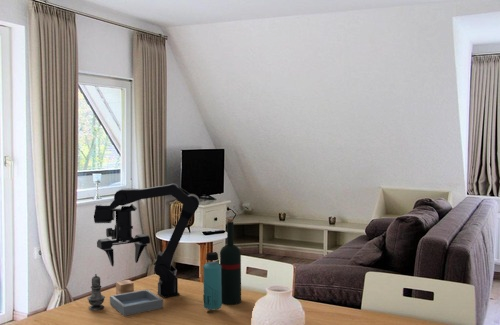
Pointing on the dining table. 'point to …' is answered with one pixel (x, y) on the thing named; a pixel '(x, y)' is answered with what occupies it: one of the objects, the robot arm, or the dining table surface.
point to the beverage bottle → (212, 282)
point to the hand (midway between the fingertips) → (124, 264)
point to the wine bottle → (230, 269)
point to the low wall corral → (136, 302)
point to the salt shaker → (96, 295)
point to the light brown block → (124, 287)
